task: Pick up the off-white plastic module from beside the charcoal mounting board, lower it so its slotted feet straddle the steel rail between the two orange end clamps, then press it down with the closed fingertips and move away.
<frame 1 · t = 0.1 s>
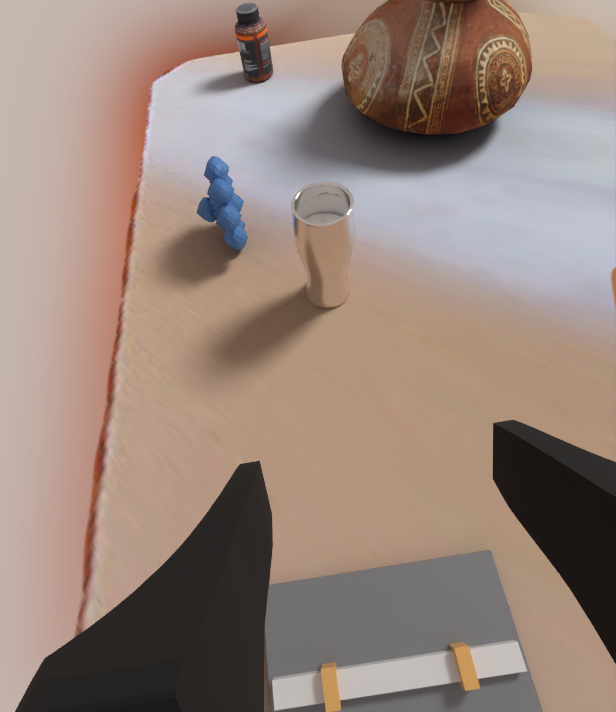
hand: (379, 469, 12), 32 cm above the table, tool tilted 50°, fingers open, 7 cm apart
beer glass: (328, 291, 55), on the table
grapes: (231, 238, 62), on the table
jug: (425, 108, 73), on the table
mounting board: (394, 670, 35), on the table
supplement bottle: (259, 76, 83), on the table
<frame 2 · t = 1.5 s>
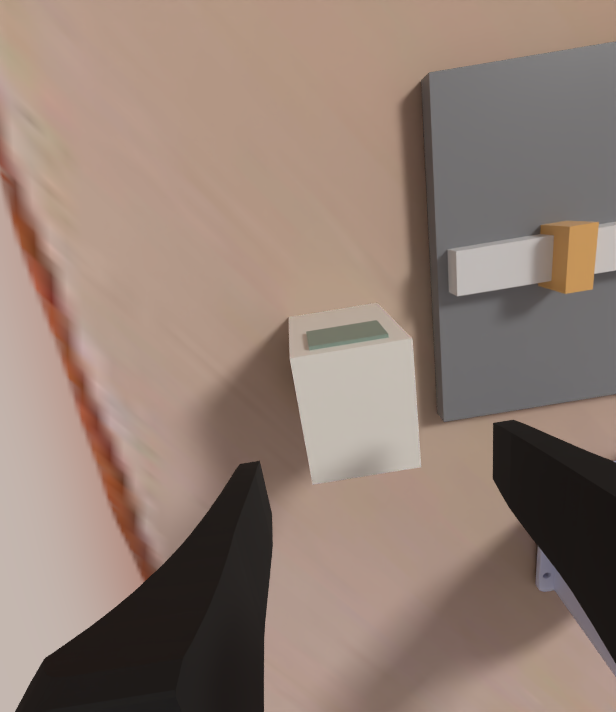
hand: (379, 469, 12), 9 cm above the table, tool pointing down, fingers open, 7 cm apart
module: (339, 361, 21), on the table
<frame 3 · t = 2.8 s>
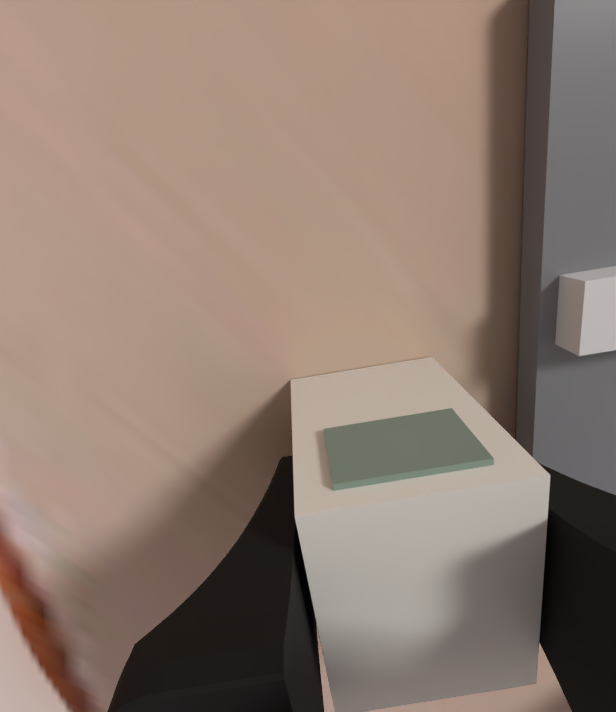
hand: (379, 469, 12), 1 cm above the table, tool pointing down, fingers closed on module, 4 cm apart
module: (370, 444, 14), on the table, touching gripper
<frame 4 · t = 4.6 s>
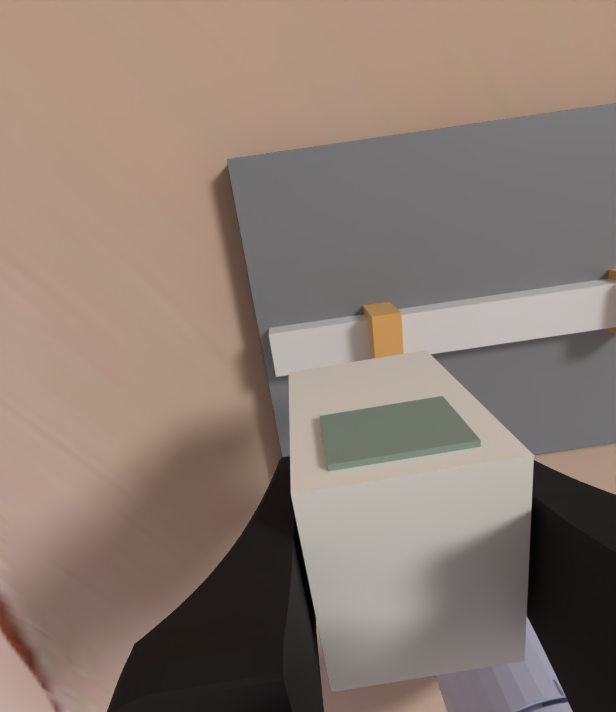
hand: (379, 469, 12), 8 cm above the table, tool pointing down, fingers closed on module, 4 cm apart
module: (366, 435, 14), point 7 cm above the table, touching gripper
mounting board: (488, 310, 19), on the table
when the fingers open (3 cm above the table, at t = 6.7 s): module stays where it is, resting on mounting board.
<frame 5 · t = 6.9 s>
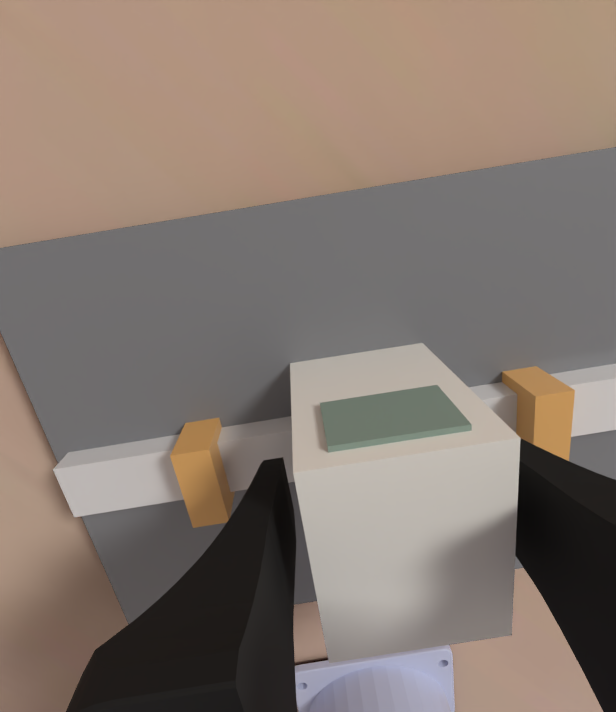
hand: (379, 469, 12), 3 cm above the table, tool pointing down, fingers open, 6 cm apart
module: (364, 425, 14), point 1 cm above the table, touching mounting board
mounting board: (359, 415, 15), on the table
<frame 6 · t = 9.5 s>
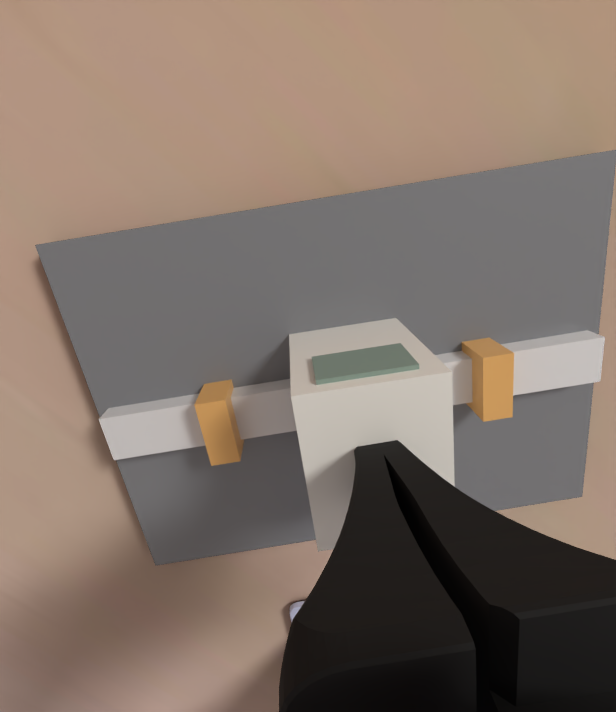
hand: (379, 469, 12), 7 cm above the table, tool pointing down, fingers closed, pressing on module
module: (349, 386, 18), point 1 cm above the table, touching gripper, mounting board
mounting board: (347, 381, 19), on the table
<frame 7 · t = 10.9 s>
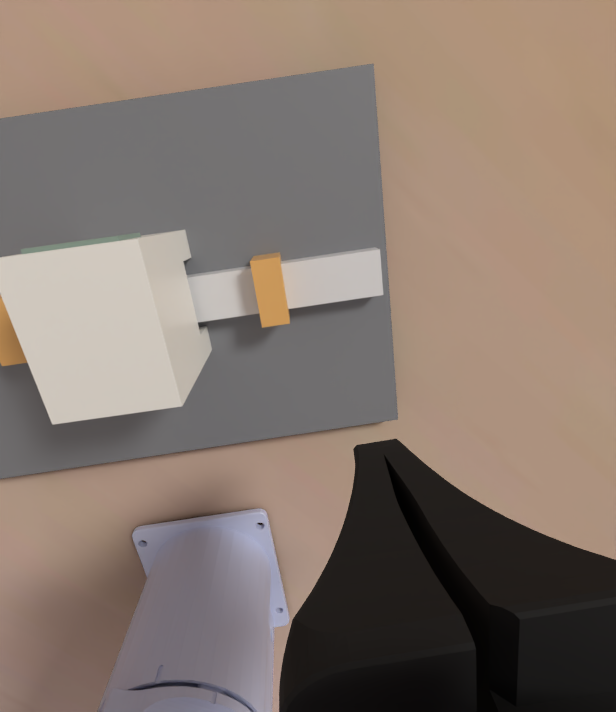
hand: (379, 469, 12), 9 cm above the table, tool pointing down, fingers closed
module: (150, 299, 18), point 1 cm above the table, touching mounting board
mounting board: (158, 298, 19), on the table
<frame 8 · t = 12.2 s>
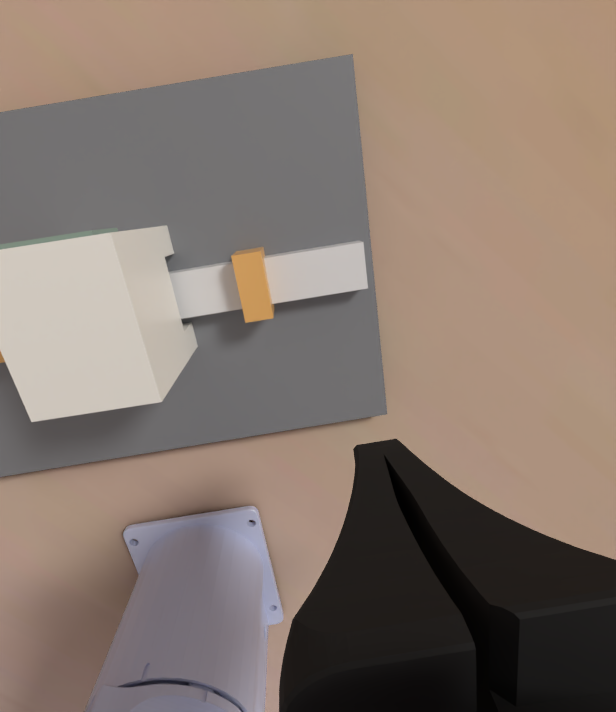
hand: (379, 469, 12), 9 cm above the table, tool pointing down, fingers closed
module: (134, 296, 18), point 1 cm above the table, touching mounting board
mounting board: (143, 295, 19), on the table
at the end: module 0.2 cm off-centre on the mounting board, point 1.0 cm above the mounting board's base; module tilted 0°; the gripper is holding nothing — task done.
